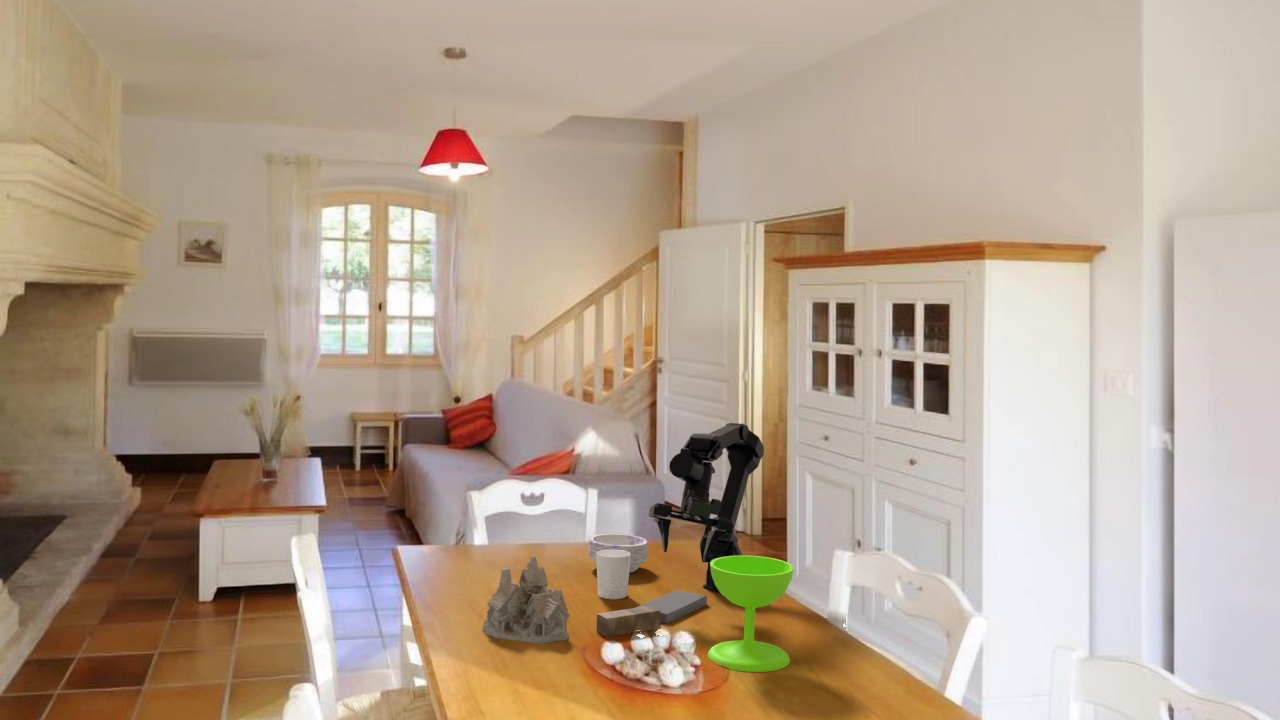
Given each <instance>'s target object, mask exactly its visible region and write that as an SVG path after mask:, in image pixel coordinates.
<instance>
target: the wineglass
mask: <svg viewBox="0 0 1280 720" xmlns="http://www.w3.org/2000/svg"><path fill="white" fill-rule="evenodd" d="M710 567H711V575H712V578H713V581H714V583H715V586H716V587H717V589H718V590H719V591H720V592H719V593H720V594H721V595H722V596H723V597H724V598H726V599H727V600H728V601H729V602H730V603H732V604H733V605H737V606H739V607H743V608H744V629H743V630H744V632H743V633H744V635H743V639H742V640H741V639H740V640H738V639H737V640H729V641H728V640H727V641H723V642H719V643H716V644H715V645H713V646H712V647H710V648H709V650H708V652H707V653H708V657H709V658H710V659H711V660H713V661H714V662H717V663H719V664H721V665H723V666H726V667H728V668H729V669H728V670H731V671H736V672H737V671H739V672H746V673H747V672H748V673H763V672H764V673H765V672H766V673H767V672H773V671H779V670H781V669H785V668H786V667H788V665H790V662H791V658H790V656H789V654H788V653H787V652H786V651H785V650H784V649H783V648H781V647H779V646H777V645H774V644H771V643H768V642H763V641H760V640H759V641H758V640H755V627H756V626H755V621H756V618H755V617H756V609H758V608H763V607H767V606H769V605H771V604H772V603H774V602H776V601H778V600H779V599H780V598H781V597H782V595H784V594H785V593H786V591H787V590H788V588H789V586H790V584H791V582H792V579H793V575H794V574H793V573H794V565H793V564H792V563H789V562H788V561H784V560H781V559H779V558H775V557H773V558H772V557H769V556H768V557H767V556H759V555H743V554H742V555H741V556H726V557H720V558H716V559H714V560H712V561H711V562H710ZM708 657H707V658H708Z"/></svg>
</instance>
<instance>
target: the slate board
mask: <svg viewBox="0 0 1280 720" xmlns="http://www.w3.org/2000/svg"><path fill="white" fill-rule="evenodd" d="M707 599H708V596H707V595H706V594H699V593H694V592H689V591H684V590H680V589H679V590H677V589H675V590H673V591H671V592H669V593H665V594H663V595H662V596H659V597H657V598H654V599H652V600H650V601H648V602H646V603H642V604H641V605H639V606H636V607H635V608H638V607H644V606H652V607H654V608H656V609H658V610H660V623H664V624H669V623H671V622H673V621H676V620H677V619H679V618H681V617H683V616H686V615H688V614H691V612H694V611H696V610H698V609H700V608H703V607H705V606H706V605H707V603H708V602H707V601H708V600H707Z"/></svg>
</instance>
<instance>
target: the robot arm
mask: <svg viewBox="0 0 1280 720" xmlns="http://www.w3.org/2000/svg"><path fill="white" fill-rule="evenodd" d="M724 449H725V450H726V451H727V460H728V462H729V466H730V469H729V473H728V477H727V480H726V483H725V486H724V490H723V491H724V492H723V494H722V498H721V499H716V498H711V500H710V490H711V489H710V488H711V483H712V476H713V474H716V469H715V467H714V465H712V463H713V462H714V461H718V460H719V458H720V457H722V455H723V454H724V453H723V450H724ZM764 453H765V447H764V444H763V443H762V441H761V438H760V437H759V436H758V435H757V434H755V433H754V432H753V431H751V430H750V428H749V426H748V425H746V424H744V423H738V422H737V423H736V422H729V423H726V424H725V426H722V427H719V428H718V429H716V430H714V431H711V432H710V433H704V432H703V433H692V434H691V435H690V436H689V438H688V439H687V441H686V442H685V444H684V446H683V447H682V448H680V451H679V453H677V454H675V455H674V456H673V457H672V458H671V459H670V460H671V461H669V472H670V473H671V474H672V476H674V477H675V478H677V479H678V480H680V481H682V482H684V488H683V491H682V499H681V504H680V508H679V510H674V509H673V506H672V505H669V504H664V503H660V502H657V503H655V504H652V505H651V506H650V508H649V512H648V517H650V518H653V522H654V523H656V524H657V527H658V529H659V532H660V533H659V534H660V537H661V543H662V549H663V553H667V551H668V547H669V538H670V536H669V535H670V527H671V524H672V519H674V520H679V521H683V522H689V523H692V524H698V525H702V526H705V528H704V532H703V535H702V537H701V540H700V542H699V549H700V557H701V563H707V569H706V575H705V576H706V577H705V579H706V581H705V584H702V588H706V589H708V590H711V591H714V592H717V593H720V591H719V590H718V589H717V587H716V586H715V583H714V581H713V578H712V575H711V567H710V562H711V561H712V560H714V559H716V558H720V557H726V556H741V555H743V553H742V550H741V549H740V546H739V544H738V543H739V542H738V541H739V538H738V535H737V531H736V528H735V527H736V525H737V520H738V517H739V513H740V509H741V506H742V505H741V504H742V502H743V498H744V494H745V490H746V489H747V484H748V482H749V481H748V479H749V477H750V475H751V474H752V473H753V472H754V471H755V470H756V469H757V468H759V465H760V462H761V459H763V457H764V455H765V454H764ZM711 515H715V517H713V518H710V517H711Z"/></svg>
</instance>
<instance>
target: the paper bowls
mask: <svg viewBox="0 0 1280 720" xmlns="http://www.w3.org/2000/svg"><path fill="white" fill-rule="evenodd" d="M609 549H615V550H624V551H628V552H630V554H631V555H630V569H629V574H631V573H633V572H634V573H635V572H636V571H637V570H638V569H639V567H640V565H641V564H643V563H645V562H647V561H648V555H649V553H648V551H649V541H648V540H647V539H645V538H644V537H640V536H637V535H630V534H622V533H621V534H620V533H603V534H596V535H593V536H591V537H590V538H589V539H588V558H589V559H590V560H592V561H593V562H595V564H596V566H597V552H598V551H601V550H609Z"/></svg>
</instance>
